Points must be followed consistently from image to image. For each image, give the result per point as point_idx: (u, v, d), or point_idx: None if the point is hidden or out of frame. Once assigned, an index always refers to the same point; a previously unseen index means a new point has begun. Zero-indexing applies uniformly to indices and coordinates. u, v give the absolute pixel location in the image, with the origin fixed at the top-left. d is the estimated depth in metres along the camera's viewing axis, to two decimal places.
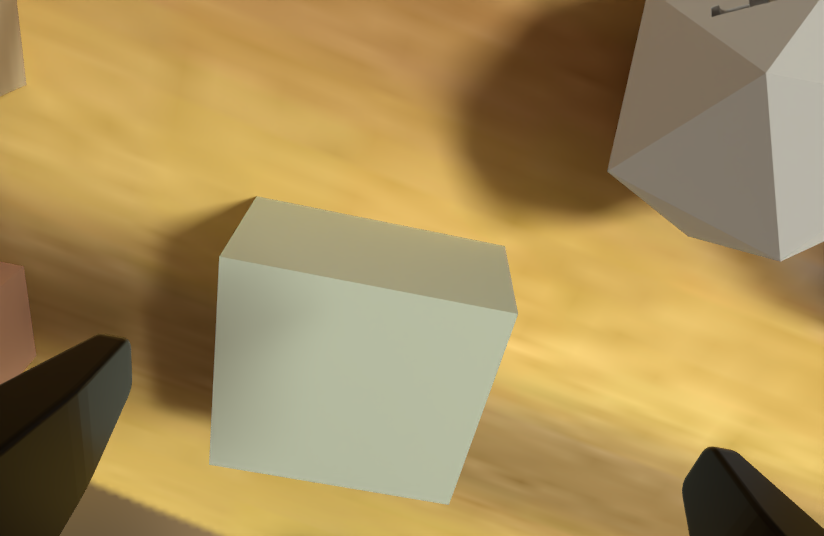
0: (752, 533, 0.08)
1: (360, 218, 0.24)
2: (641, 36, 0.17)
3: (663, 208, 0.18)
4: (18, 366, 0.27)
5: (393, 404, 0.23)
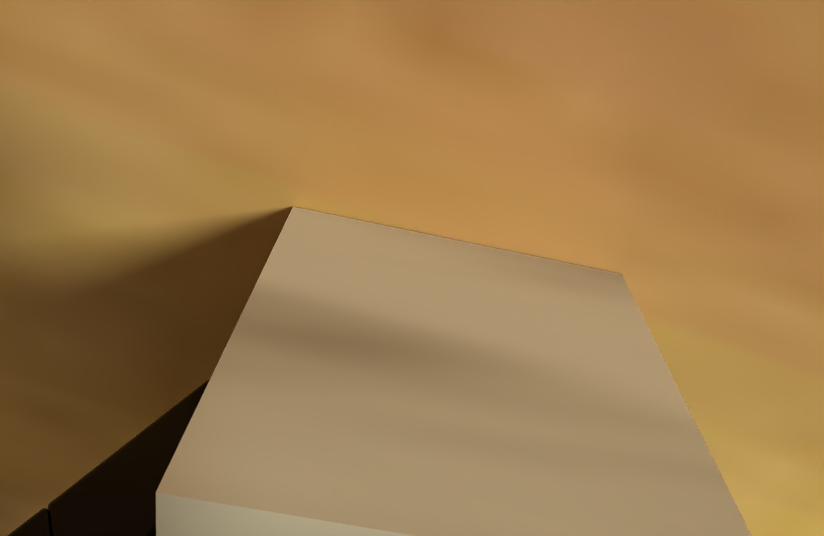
0: None
1: None
2: None
3: None
4: None
5: None
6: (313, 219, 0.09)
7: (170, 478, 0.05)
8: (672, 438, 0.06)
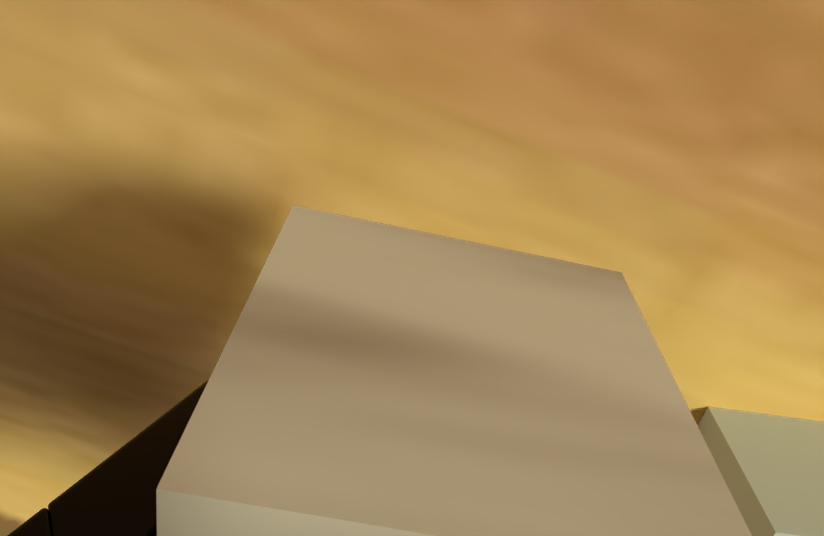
0: None
1: None
2: None
3: None
4: None
5: None
6: (313, 217, 0.09)
7: (170, 475, 0.05)
8: (671, 436, 0.06)
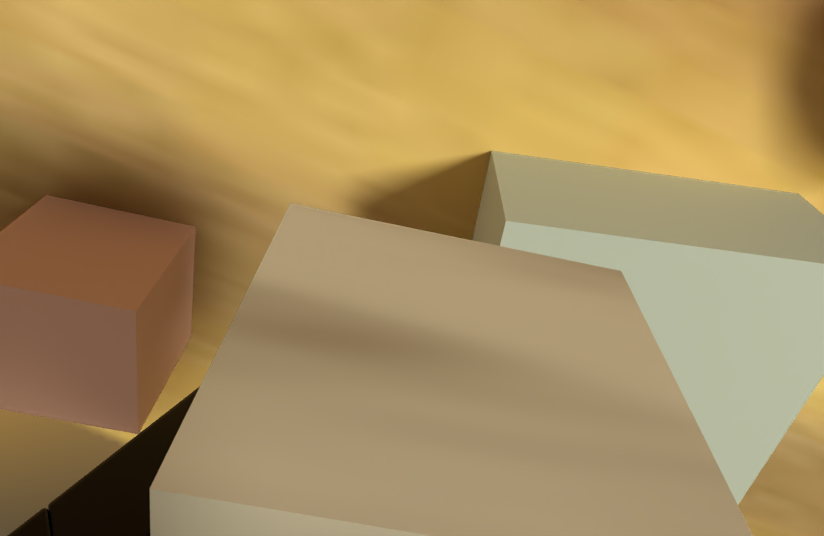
0: None
1: (620, 169, 0.19)
2: None
3: None
4: (178, 349, 0.22)
5: (691, 398, 0.18)
6: (311, 216, 0.09)
7: (164, 475, 0.05)
8: (672, 435, 0.06)
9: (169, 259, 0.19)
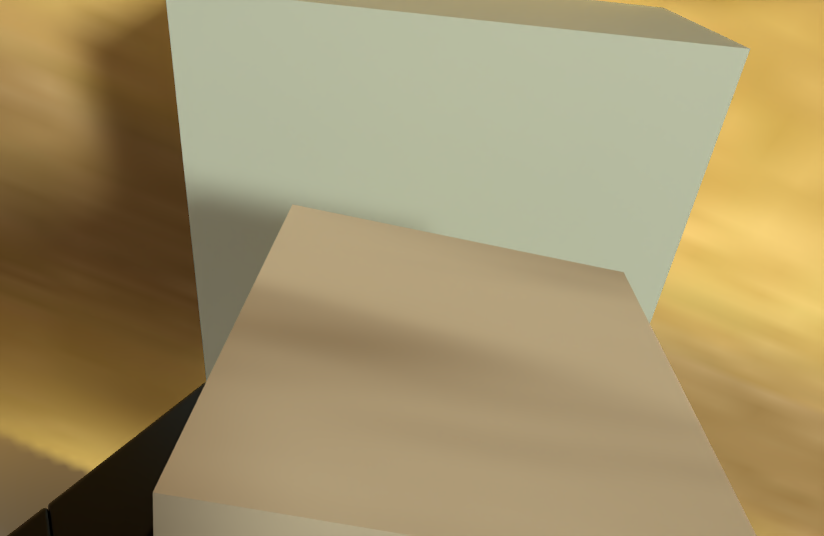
0: None
1: None
2: None
3: None
4: None
5: None
6: (312, 217, 0.09)
7: (167, 478, 0.05)
8: (675, 437, 0.06)
9: None
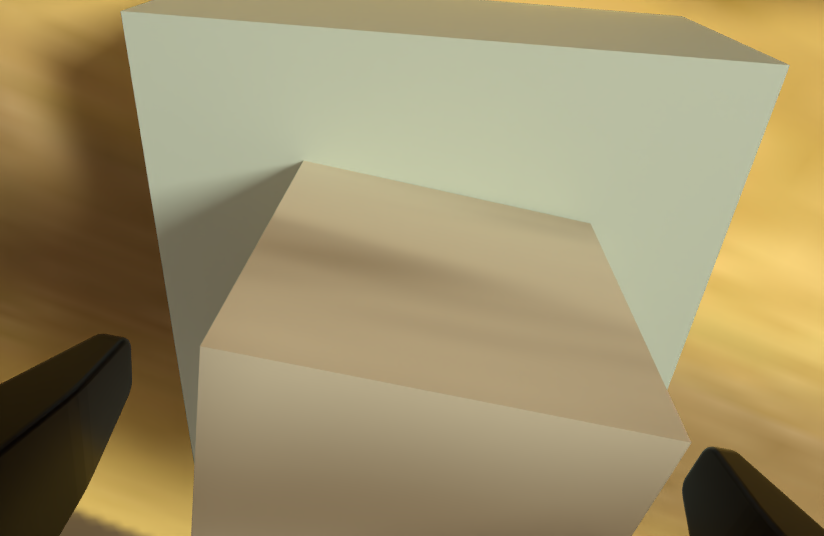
0: (752, 533, 0.08)
1: None
2: None
3: None
4: None
5: None
6: (321, 170, 0.10)
7: (209, 339, 0.06)
8: (618, 339, 0.08)
9: None
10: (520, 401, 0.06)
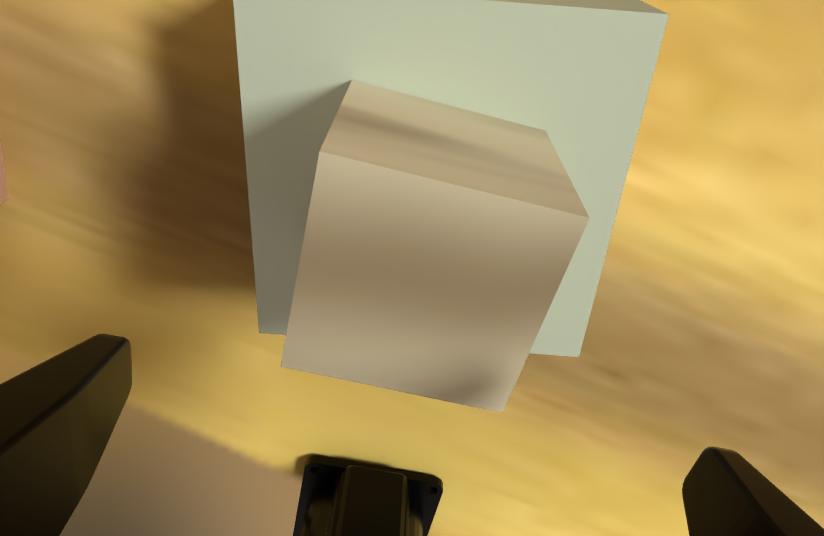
0: (752, 533, 0.08)
1: None
2: None
3: None
4: None
5: None
6: (364, 86, 0.15)
7: (323, 149, 0.11)
8: (555, 178, 0.12)
9: None
10: (495, 192, 0.11)
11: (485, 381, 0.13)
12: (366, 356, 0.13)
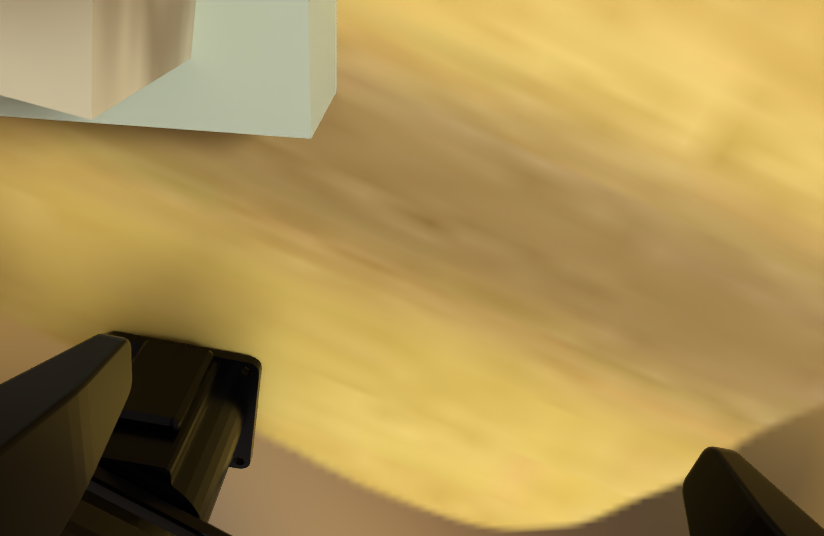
0: (752, 533, 0.08)
1: None
2: None
3: None
4: None
5: None
6: None
7: None
8: None
9: None
10: None
11: (52, 65, 0.10)
12: None
